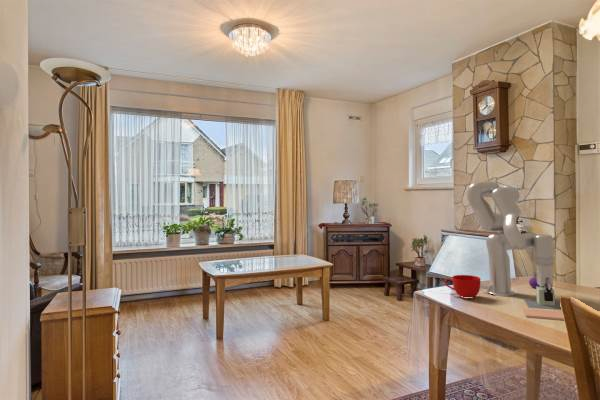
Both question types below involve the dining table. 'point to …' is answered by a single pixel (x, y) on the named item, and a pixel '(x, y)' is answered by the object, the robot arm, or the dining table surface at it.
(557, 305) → the mat
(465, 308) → the dining table surface
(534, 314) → the set down board
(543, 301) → the block
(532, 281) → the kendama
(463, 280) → the ceramic cup
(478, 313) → the dining table surface
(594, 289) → the dining table surface
